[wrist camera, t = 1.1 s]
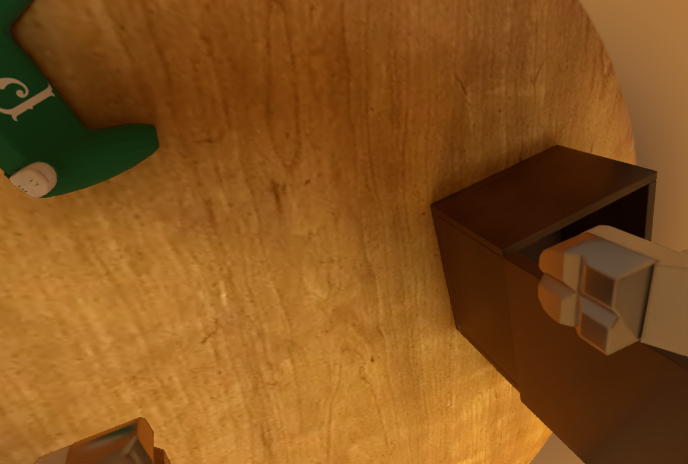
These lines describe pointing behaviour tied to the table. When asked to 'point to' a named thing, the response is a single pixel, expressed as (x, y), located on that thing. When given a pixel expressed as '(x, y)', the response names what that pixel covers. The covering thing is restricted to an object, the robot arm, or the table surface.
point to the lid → (596, 384)
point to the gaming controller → (54, 128)
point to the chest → (529, 231)
